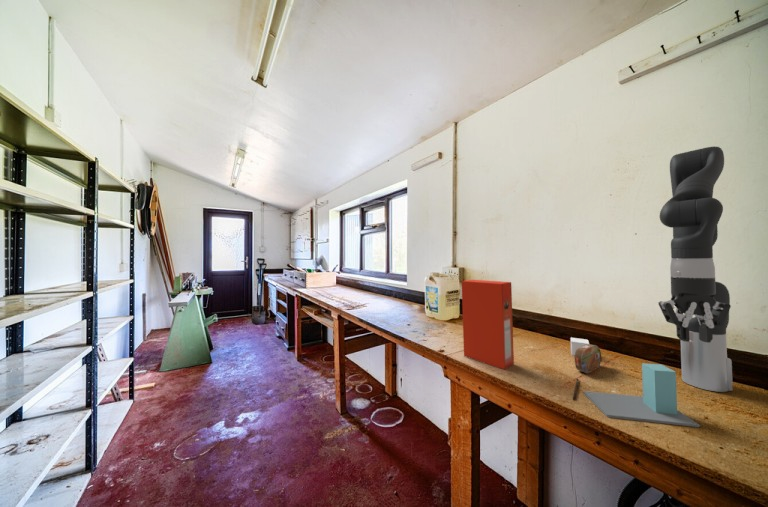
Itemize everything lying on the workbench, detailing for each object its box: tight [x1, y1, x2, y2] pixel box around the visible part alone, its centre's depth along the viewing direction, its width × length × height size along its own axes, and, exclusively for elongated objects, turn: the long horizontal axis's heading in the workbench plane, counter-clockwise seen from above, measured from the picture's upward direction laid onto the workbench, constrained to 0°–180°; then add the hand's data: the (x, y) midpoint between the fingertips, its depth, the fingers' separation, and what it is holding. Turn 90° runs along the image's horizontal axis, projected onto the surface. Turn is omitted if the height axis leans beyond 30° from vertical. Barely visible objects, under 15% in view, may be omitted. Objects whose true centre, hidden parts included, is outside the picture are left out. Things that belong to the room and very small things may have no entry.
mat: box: [582, 390, 701, 428], centre depth 70 cm, size 19×12×1 cm, turn 76°
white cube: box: [570, 337, 590, 357], centre depth 108 cm, size 6×6×6 cm
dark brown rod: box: [572, 378, 579, 401], centre depth 80 cm, size 15×1×1 cm, turn 140°
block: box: [641, 362, 678, 415], centre depth 69 cm, size 4×4×11 cm
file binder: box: [461, 279, 515, 370], centre depth 104 cm, size 8×17×32 cm, turn 38°
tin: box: [573, 343, 602, 374], centre depth 94 cm, size 15×3×8 cm, turn 120°
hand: (694, 340), depth 67 cm, fingers open, 3 cm apart
